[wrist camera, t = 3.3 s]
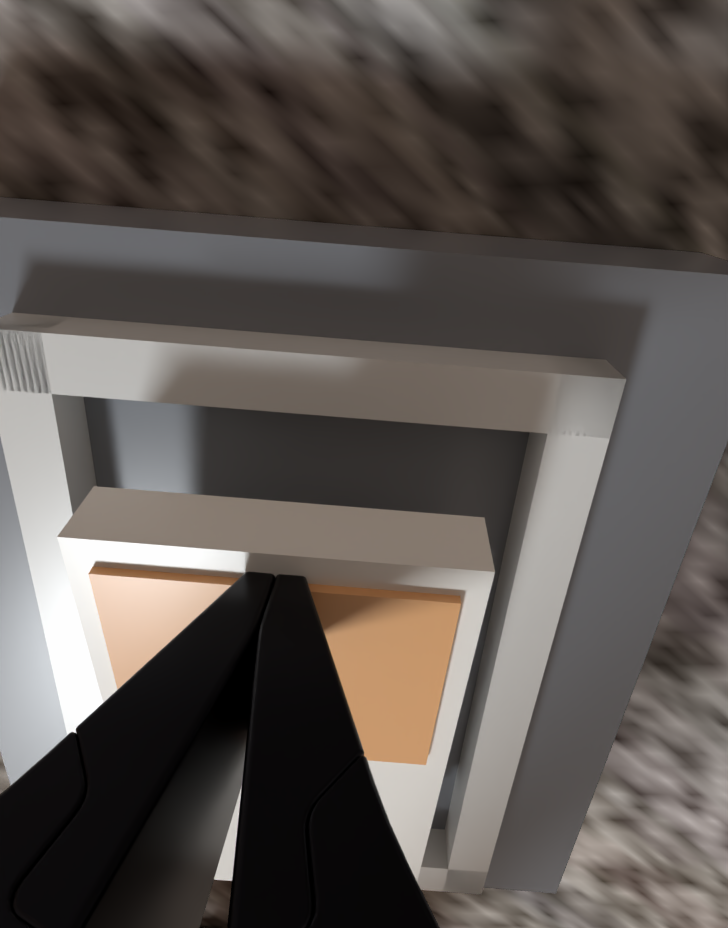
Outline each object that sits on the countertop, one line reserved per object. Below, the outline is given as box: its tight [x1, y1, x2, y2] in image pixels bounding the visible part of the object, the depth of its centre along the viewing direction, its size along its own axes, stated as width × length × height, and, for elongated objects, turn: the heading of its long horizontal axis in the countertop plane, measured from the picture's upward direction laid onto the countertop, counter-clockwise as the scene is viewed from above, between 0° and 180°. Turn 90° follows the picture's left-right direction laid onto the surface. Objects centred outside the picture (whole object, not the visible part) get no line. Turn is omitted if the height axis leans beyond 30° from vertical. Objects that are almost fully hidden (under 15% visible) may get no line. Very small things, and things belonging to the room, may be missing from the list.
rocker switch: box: [57, 486, 495, 881], centre depth 11 cm, size 10×6×1 cm, turn 176°
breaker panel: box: [0, 197, 728, 895], centre depth 14 cm, size 17×15×4 cm
